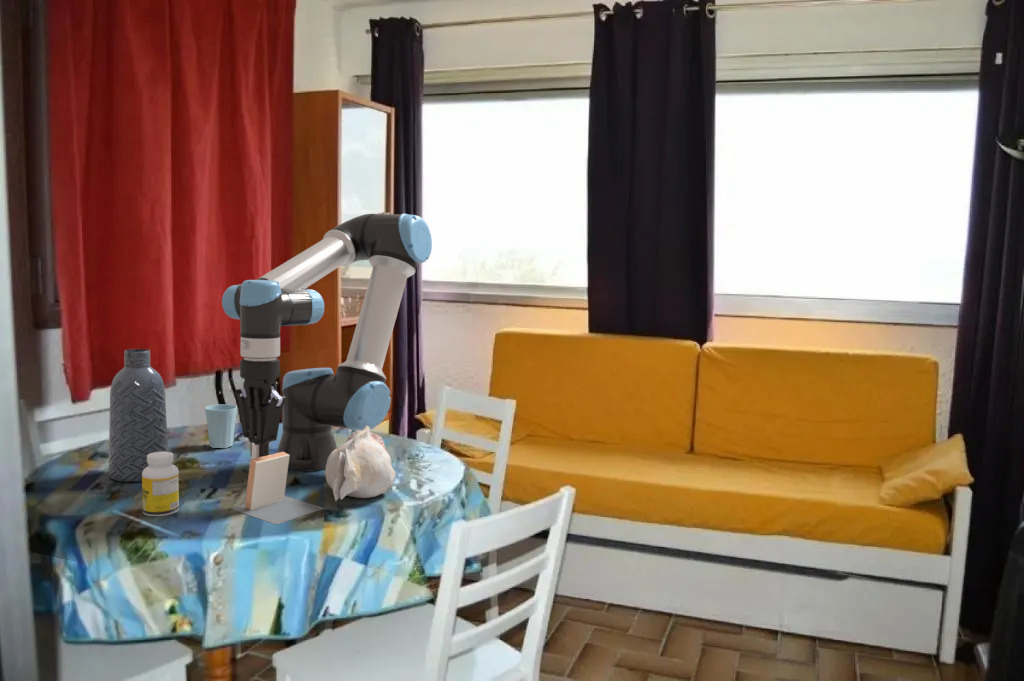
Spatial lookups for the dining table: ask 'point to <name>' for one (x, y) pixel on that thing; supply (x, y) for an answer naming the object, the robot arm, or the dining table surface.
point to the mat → (280, 510)
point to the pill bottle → (160, 485)
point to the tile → (267, 480)
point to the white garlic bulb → (360, 467)
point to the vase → (136, 417)
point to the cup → (221, 424)
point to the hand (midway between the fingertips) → (259, 473)
